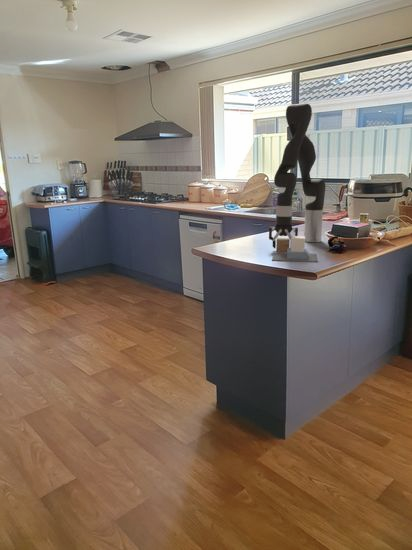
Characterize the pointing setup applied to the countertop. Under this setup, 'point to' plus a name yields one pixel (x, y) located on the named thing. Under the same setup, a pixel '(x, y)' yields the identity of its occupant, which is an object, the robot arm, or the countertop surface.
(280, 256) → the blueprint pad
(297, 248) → the white block
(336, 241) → the toy
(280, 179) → the robot arm
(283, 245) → the walnut block
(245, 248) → the countertop surface
